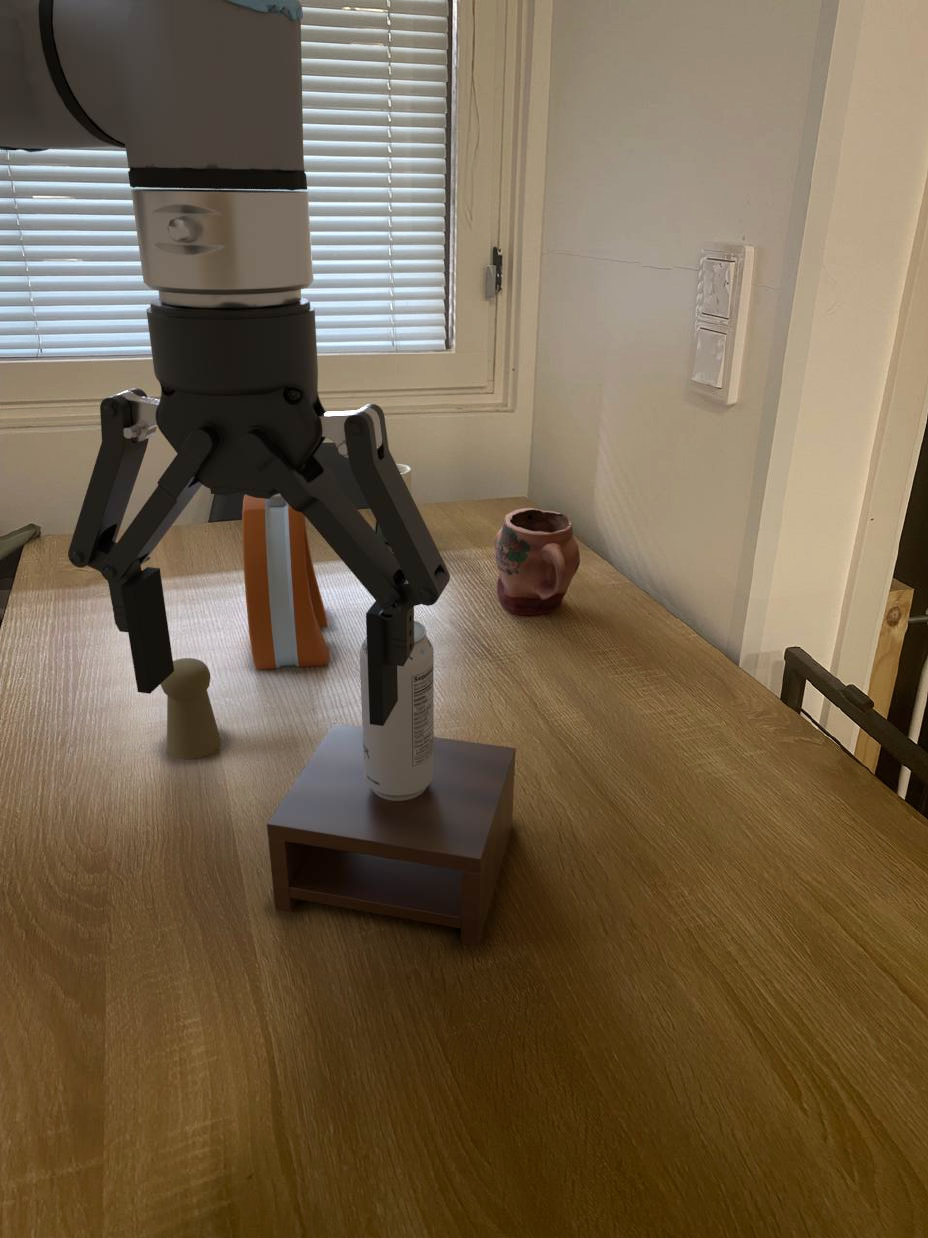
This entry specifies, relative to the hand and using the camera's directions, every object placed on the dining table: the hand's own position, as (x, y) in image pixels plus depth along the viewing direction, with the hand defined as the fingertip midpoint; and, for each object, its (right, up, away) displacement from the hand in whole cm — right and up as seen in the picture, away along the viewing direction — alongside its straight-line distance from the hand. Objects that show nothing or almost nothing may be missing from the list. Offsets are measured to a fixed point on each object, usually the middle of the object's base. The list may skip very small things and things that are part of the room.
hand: (267, 697), depth 51 cm
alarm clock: (-12, +1, +74) cm, 75 cm away
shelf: (+5, -19, +34) cm, 39 cm away
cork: (-19, -11, +51) cm, 55 cm away
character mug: (-2, +18, +111) cm, 113 cm away
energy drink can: (+5, -10, +29) cm, 31 cm away
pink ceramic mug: (+22, +6, +86) cm, 89 cm away
